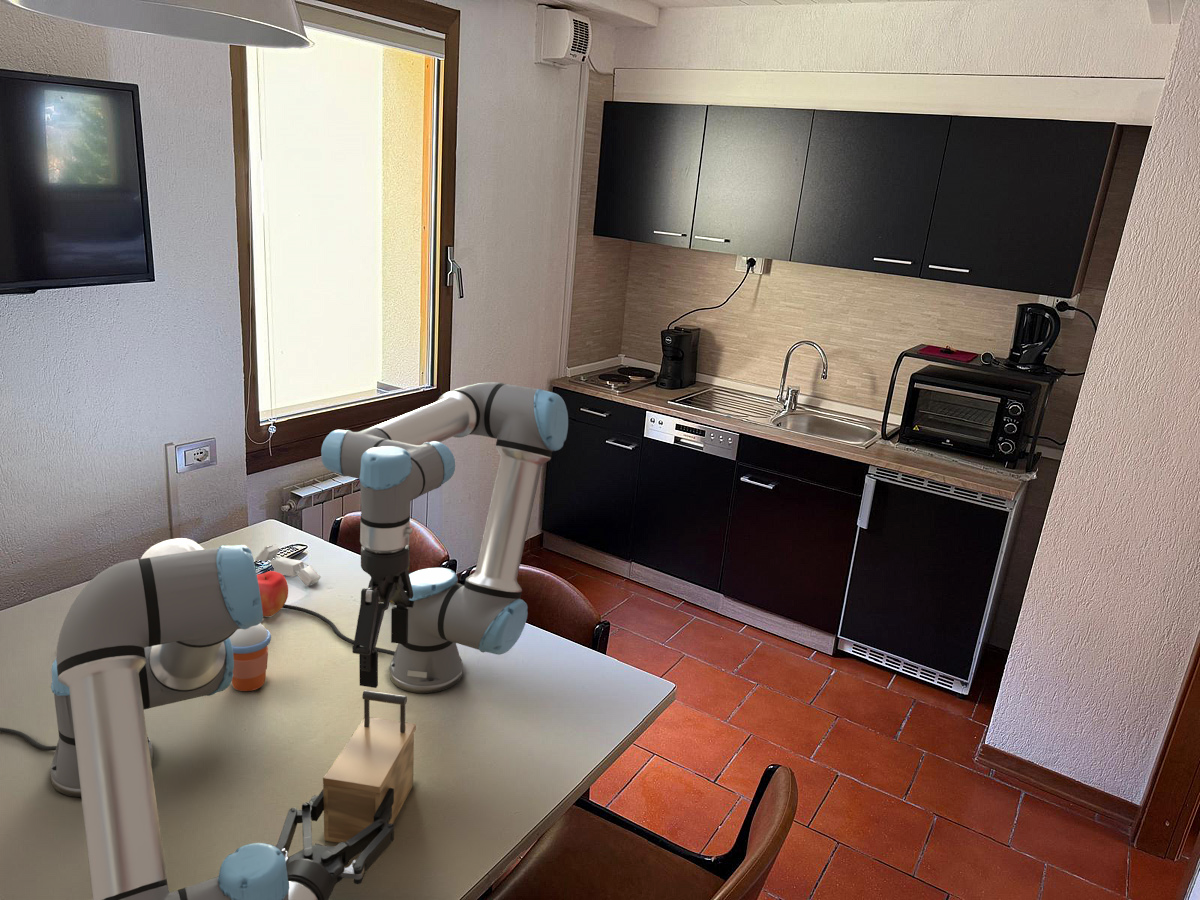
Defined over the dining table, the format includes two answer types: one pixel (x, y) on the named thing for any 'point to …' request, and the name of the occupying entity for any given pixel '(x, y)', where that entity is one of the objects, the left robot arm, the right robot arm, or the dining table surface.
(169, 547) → the skull
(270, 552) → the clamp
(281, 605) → the apple
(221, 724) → the dining table surface
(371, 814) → the chest
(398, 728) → the lid
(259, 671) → the cup with straw
